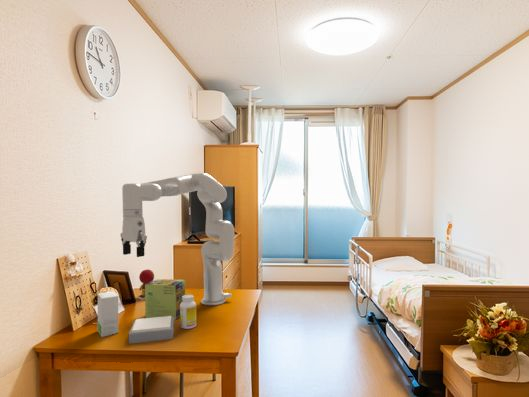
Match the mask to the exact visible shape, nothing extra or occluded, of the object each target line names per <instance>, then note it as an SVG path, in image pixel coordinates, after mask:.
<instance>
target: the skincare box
mask: <svg viewBox="0 0 529 397" xmlns="http://www.w3.org/2000/svg"><path fill="white" fill-rule="evenodd" d="M97 332H98V333H99V335H100V336H101V337H102V338H104V337H108V336H113V335H116V333H117V334H118V333H119V294H117V293H116V292H115V291H113V290H112V291H105V292H100V293H97ZM112 334H113V335H112Z"/></svg>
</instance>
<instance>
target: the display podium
mask: <svg viewBox="0 0 529 397" xmlns="http://www.w3.org/2000/svg"><path fill="white" fill-rule="evenodd" d="M174 330H175V320H174V317H171V316H164V317H153V318H143V317H142V318H136V320H134V321H133V323H132V326H131V328H130V330H129V333H128V344H129V345H130V343H131V344H139V343H147V342H155V341H156V342H157V341H165V340H171V339H172V340H174Z"/></svg>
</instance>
